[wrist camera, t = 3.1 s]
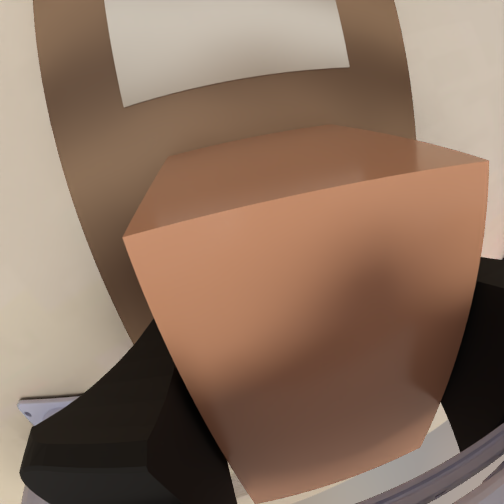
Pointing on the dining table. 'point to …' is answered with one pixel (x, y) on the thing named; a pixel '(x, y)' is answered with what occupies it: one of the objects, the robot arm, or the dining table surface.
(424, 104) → the dining table surface
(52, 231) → the dining table surface
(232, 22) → the walnut board
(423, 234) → the terracotta cover
